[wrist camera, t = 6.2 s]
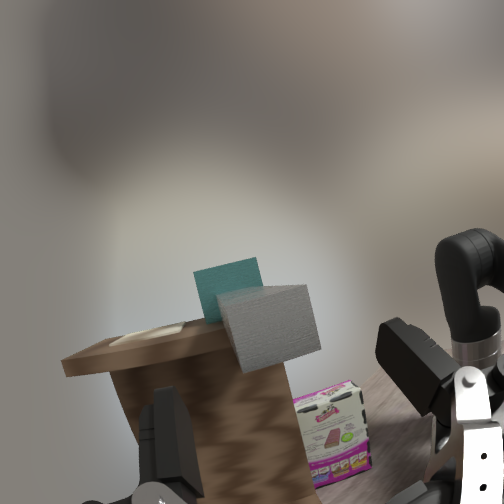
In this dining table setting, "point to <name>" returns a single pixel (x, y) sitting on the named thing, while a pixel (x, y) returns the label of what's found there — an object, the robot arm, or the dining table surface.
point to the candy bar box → (334, 433)
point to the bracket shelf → (213, 408)
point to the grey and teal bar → (258, 314)
